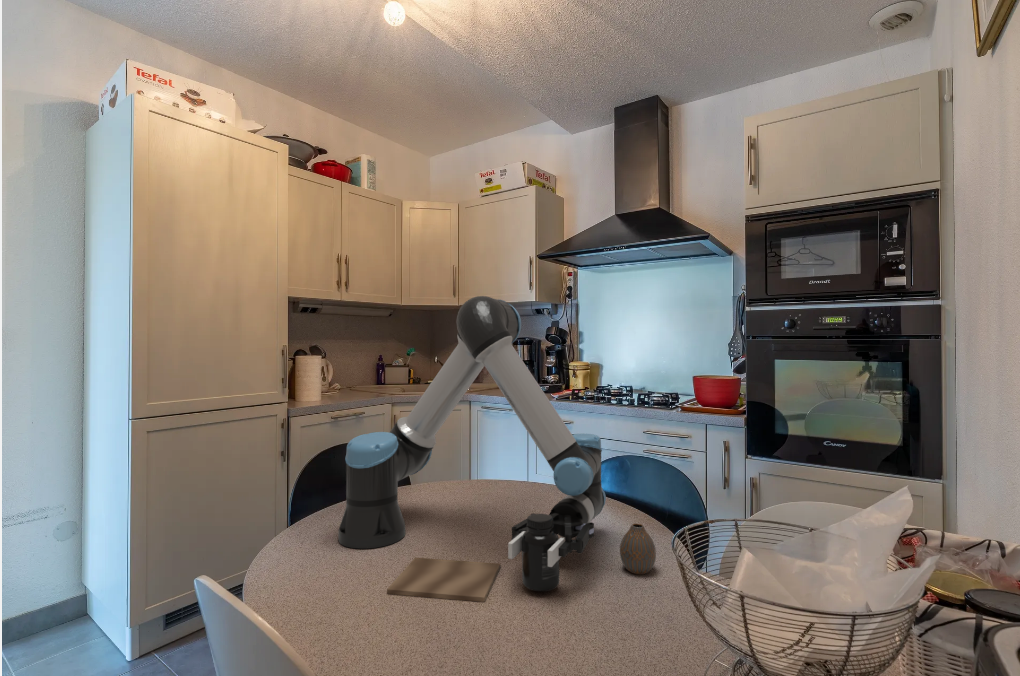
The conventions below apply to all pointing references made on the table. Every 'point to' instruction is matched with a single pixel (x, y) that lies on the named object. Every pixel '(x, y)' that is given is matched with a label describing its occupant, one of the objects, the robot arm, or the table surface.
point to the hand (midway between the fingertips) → (529, 554)
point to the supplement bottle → (539, 554)
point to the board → (446, 579)
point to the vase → (637, 550)
